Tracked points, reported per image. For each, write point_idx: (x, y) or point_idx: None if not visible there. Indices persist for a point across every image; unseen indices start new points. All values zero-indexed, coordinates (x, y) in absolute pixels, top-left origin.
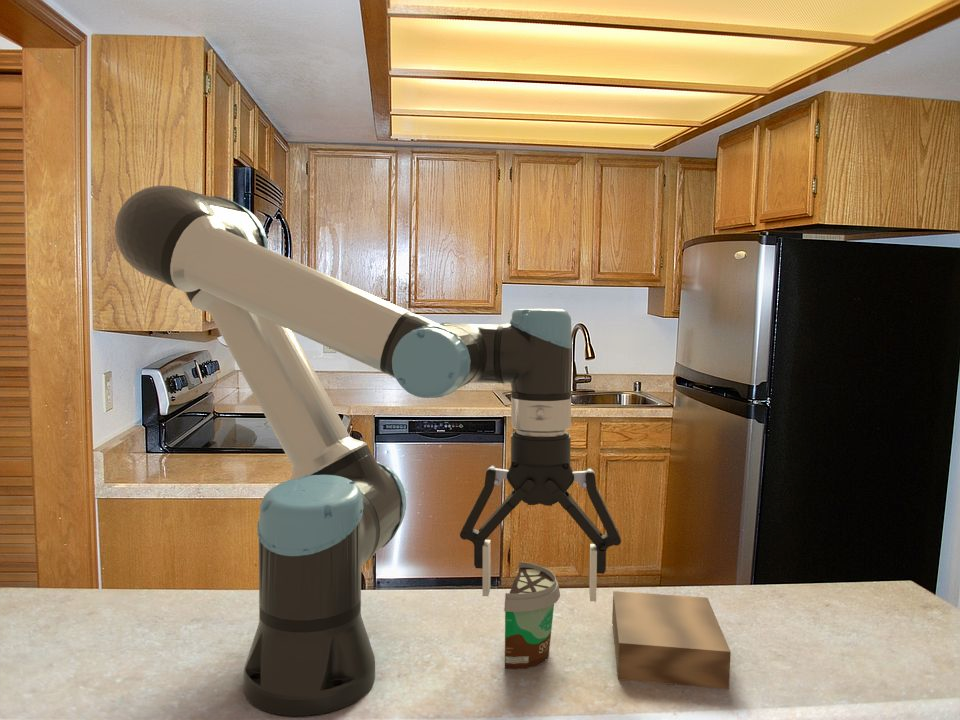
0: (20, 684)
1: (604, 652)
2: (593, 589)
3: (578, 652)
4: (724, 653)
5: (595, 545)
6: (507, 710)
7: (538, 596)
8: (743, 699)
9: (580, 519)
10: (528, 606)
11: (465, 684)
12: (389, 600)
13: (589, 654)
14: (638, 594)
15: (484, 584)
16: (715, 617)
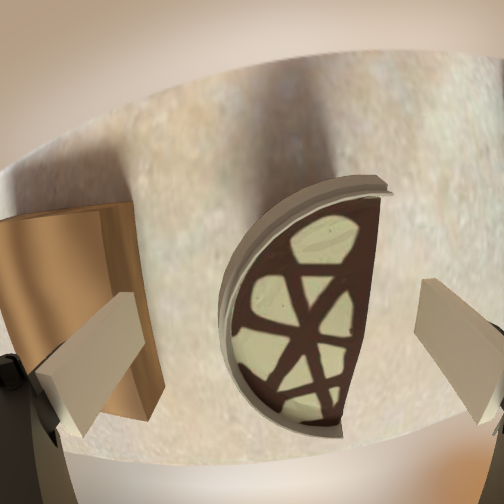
0: None
1: (161, 290)
2: (110, 305)
3: (204, 283)
4: None
5: (30, 389)
6: (310, 57)
7: (274, 229)
8: (7, 194)
9: (14, 489)
10: (305, 193)
11: (395, 128)
12: None
13: (184, 279)
14: (108, 409)
15: (446, 291)
16: (8, 332)
